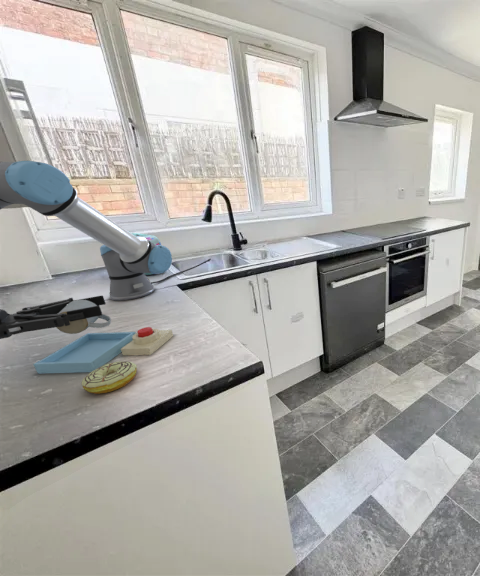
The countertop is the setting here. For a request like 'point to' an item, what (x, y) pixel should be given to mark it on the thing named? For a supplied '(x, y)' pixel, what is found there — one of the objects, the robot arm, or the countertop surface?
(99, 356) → the shallow blue tray
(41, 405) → the countertop surface
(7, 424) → the countertop surface
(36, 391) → the countertop surface
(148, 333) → the button
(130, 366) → the decorated donut
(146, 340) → the control block
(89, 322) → the ceramic mug
